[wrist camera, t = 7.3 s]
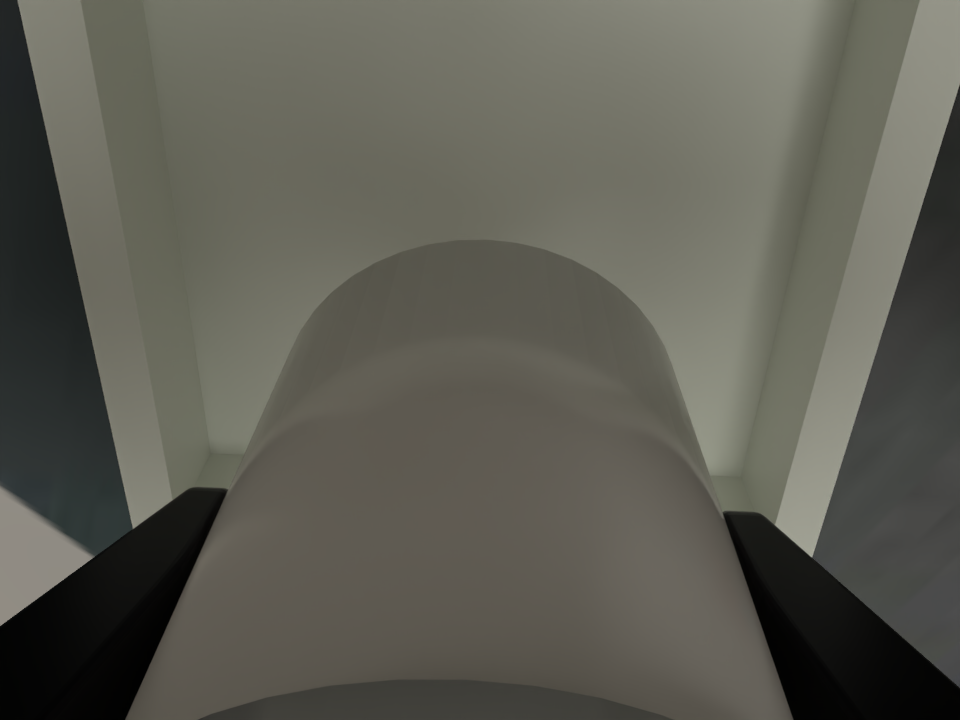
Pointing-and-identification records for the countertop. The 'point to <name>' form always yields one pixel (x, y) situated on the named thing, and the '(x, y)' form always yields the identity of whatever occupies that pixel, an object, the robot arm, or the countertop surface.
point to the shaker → (469, 518)
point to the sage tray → (495, 195)
